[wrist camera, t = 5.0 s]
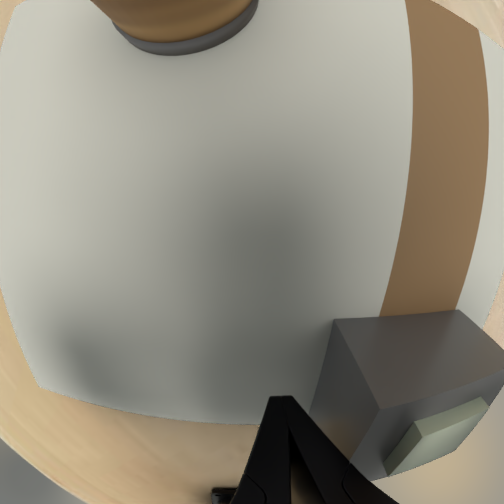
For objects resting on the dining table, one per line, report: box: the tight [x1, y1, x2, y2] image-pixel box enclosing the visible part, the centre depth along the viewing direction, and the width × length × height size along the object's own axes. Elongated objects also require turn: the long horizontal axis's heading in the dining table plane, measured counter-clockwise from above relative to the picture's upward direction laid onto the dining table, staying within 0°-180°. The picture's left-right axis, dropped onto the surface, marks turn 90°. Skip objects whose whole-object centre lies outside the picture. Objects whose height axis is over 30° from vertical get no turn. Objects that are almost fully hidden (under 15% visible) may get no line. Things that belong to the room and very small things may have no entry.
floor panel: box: [0, 0, 504, 425], centre depth 8 cm, size 18×22×1 cm
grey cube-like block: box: [309, 309, 504, 481], centre depth 8 cm, size 5×6×5 cm
